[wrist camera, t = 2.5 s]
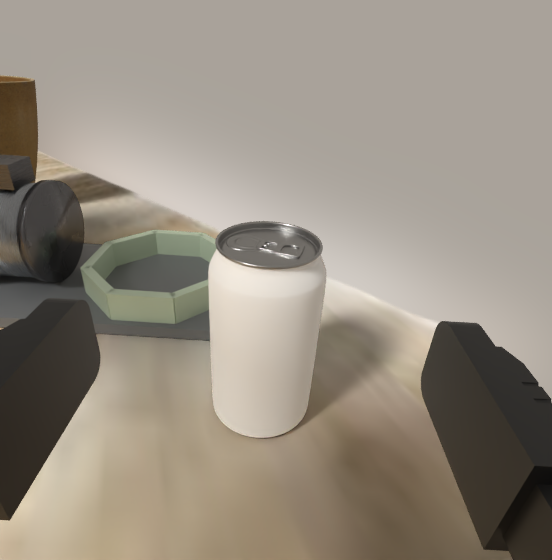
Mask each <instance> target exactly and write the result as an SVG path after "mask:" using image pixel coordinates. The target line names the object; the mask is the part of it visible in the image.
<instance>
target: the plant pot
mask: <svg viewBox="0 0 552 560" xmlns="http://www.w3.org/2000/svg"><path fill="white" fill-rule="evenodd" d="M37 152H38V122H37V103H36V89H35V80H34V79H31V78H23V77H14V76H0V154H1V155H16V156H29V157H30V160H31V164H32V168H33V172H34V176H35V178H36V168H37ZM30 183H35V180H34V181H32V182H30Z"/></svg>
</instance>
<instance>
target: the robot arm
mask: <svg viewBox="0 0 552 560" xmlns="http://www.w3.org/2000/svg"><path fill="white" fill-rule="evenodd" d="M99 366H100V351H99V346H98V342H97V337H96V333H95V329H94V324H93V320H92V315H91V311H90V307H89V305H88V303H87V302H86V301H85V300H78V299H60V298H47V299H45V300H44V301H43V302H42V303H41V304H40V305H39V306H38V307H37V308H36V309H35V310H34V311H33V312H31V313H30V314H29V315H28V316H27V317H26V318H25V319H20V320H18V321H16V322H14V323H12V324H11V325H9V326H7V327H5V328H4V329H2V330H0V520H10V519H11V518H12V516H13V514H14V513H15V511H16V509H17V508H18V506H19V504H20V503H21V501H22V499H23V498H24V496H25V494H26V493H27V491H28V490H29V488H30V486H31V485H32V483H33V481H34V480H35V478H36V476H37V475H38V473H39V471H40V470H41V468H42V466H43V465H44V463H45V461H46V460H47V458H48V457H49V455H50V453H51V452H52V450H53V448H54V447H55V445H56V443H57V442H58V440H59V438H60V437H61V435H62V433H63V432H64V430H65V428H66V427H67V425H68V423H69V422H70V420H71V419H72V417H73V415H74V414H75V412H76V410H77V409H78V407H79V405H80V404H81V402H82V400H83V399H84V397H85V395H86V394H87V392H88V390H89V389H90V387H91V386H92V384H93V382H94V381H95V379H96V377H97V374H98V371H99ZM421 390H422V396H423V399H424V402H425V404H426V407H427V409H428V412H429V414H430V417H431V419H432V422H433V424H434V427H435V429H436V432H437V434H438V437H439V439H440V442H441V444H442V447H443V449H444V452H445V454H446V457H447V459H448V462H449V464H450V467H451V469H452V472H453V474H454V477H455V479H456V482H457V484H458V487H459V489H460V492H461V494H462V497H463V499H464V502H465V504H466V507H467V509H468V512H469V514H470V517H471V519H472V522H473V524H474V527H475V529H476V532H477V534H478V537H479V539H480V542H481V544H482V547H483V549H485V550H502V551H509V552H510V554H511V556H512V559H513V560H552V403H551V398H550V397H549V396H548V395H547V393H546V392H545V391H544V389H543V388H542V387H539V386H538V382H537V380H536V379H535V378H534V377H533V375H532V374H531V373H530V371H529V370H528V369H527V368H526V366H525V365H524V364H523V363H522V362H521V361H519V360H518V359H516V358H515V357H514V356H513V355H511V354H510V353H509V352H507V351H506V350H505V349H503V348H502V347H496V346H495V345H494V344H493V342H492V341H491V340H490V338H489V337H488V335H487V334H486V333H485V331H484V330H483V328H482V327H481V326H480V325H479V324H477V323H465V322H448V321H442V322H440V323H439V324H438V325H437V327H436V330H435V333H434V336H433V339H432V342H431V346H430V349H429V352H428V355H427V358H426V361H425V364H424V368H423V371H422V376H421Z"/></svg>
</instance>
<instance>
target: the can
mask: <svg viewBox="0 0 552 560" xmlns="http://www.w3.org/2000/svg"><path fill="white" fill-rule="evenodd" d="M215 245H216V248H217V249H216V251H215V253H214V255H213V257H212V259H211V261H210V264H209V271H208V287H209V320H210V349H211V375H212V397H213V406H214V410H215V412H216V414H217V416H218V418H219V419H220V420H221V422H222V423H223V424H224V425H226V426H227V427H228V428H230V429H231V430H233V431H235V432H237V433H239V434H242V435H245V436H248V437H253V438H269V437H274V436H278V435H281V434H284V433H286V432H288V431H290V430H291V429H293V428H294V427H295V426H296V425H298V424H299V422H300V421H301V420H302V419H303V417H304V415H305V413H306V410H307V407H308V402H309V396H310V389H311V383H312V376H313V369H314V363H315V356H316V349H317V342H318V335H319V328H320V321H321V314H322V307H323V300H324V293H325V284H326V268H325V265H324V262H323V260H322V257H321V252H322V249H323V246H322V243H321V241H320V239H319V238H318V237H317V236H316V235H314V234H313V233H311V232H310V231H308V230H306V229H303V228H300V227H298V226H295V225H291V224H286V223H280V222H268V221H261V222H260V221H259V222H247V223H241V224H238V225H234V226H231V227H229V228H227V229H225V230H223V231H222V232H221V233H220V234H219V235H218V236H217V238H216V241H215Z"/></svg>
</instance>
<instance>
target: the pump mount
mask: <svg viewBox="0 0 552 560" xmlns="http://www.w3.org/2000/svg"><path fill="white" fill-rule="evenodd" d="M215 241H216V239H214V238H212V237H211V236H209V235H207V234H205V233H198V232H183V231H168V230H151V231H147V232H143V233H139V234H135V235H131V236H127V237H124V238H120V239H116V240H112V241H108V242H105V243H104V244H103V245H101V244H85V243H83V249H82V253H81V257H80V260H79V262H78V264H77V266H76V268H75V270H74V271H73V273H72V274H71V275H70V276H69V277H68V278H67V279H65V280H64V281H61V282H44V281H41V280H38V279H37V278H33V277H18V276H2V275H0V327H7V326H9V325H11V324H12V323H14V322H16V321H18V320H20V319H25V318H26V317H27V316H28V315H29V314H30V313H31V312H33V311H34V310H35V309H36V308H37V307H38V306H39V305H40V304H41V303H42V302H43V301H44V300H45V299H47V298H60V299H78V300H85V301H86V302H87V303H88V305H89V307H90V311H91V315H92V320H93V324H94V329H95V333H99V334H115V335H130V336H146V337H162V338H178V339H193V340H209V341H210V320H209V287H208V271H209V264H210V261H211V259H212V257H213V255H214V253H215V251H216V249H217V248H216V245H215Z"/></svg>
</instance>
